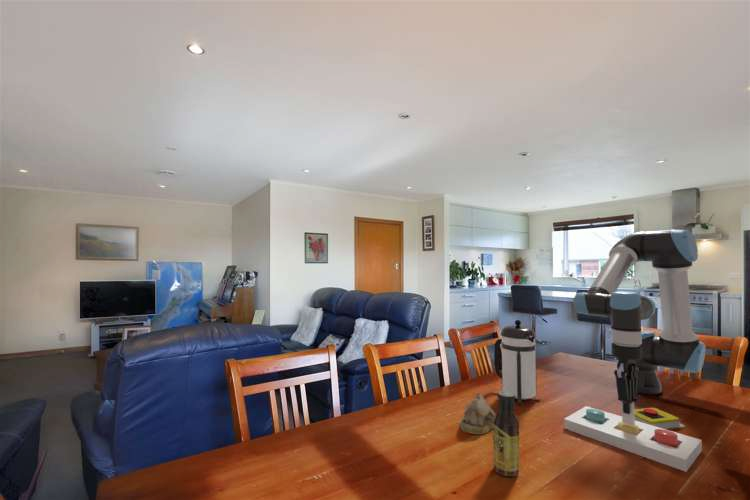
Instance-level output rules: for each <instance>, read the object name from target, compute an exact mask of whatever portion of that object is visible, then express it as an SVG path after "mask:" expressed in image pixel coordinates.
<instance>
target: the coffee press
mask: <svg viewBox="0 0 750 500" xmlns="http://www.w3.org/2000/svg"><path fill="white" fill-rule="evenodd" d="M514 324H515V325H506V326H504V327H503V328H502V330H501V331H500V336H501V338H499V339H497V340H496V341H495V343H494V348H493V351H494V352H493V353H494V355H493V357H494V370H495V373H496V375H497V376H498V377H499V378H500V379H501V384H502V388H501V389H500V390H499V392H500V391H510V392H513V393H514V394H515V399H517V405H519V406H522V405H523V403H522V401H523V400H529V399H532V398H534V399H535V400H536V401H538V402H539V401H540V400H541V396H540V395H539V393H538V391H537V390H538V389H537V387H538V386H537V384H538V383H537V362H536V358H537V346H536V338H537V333H536V332H535V331H534V329H532V328H531V327H529V326H526V325H525V326H524V325H521V324H522V321H521V320H519V319H516V320H514ZM500 345H501V346H500ZM500 347H501V350H500ZM500 351H501V355H500ZM500 356H501V369H500ZM536 395H537V397H538V398H536V397H535V396H536Z"/></svg>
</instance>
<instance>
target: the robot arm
mask: <svg viewBox="0 0 750 500" xmlns="http://www.w3.org/2000/svg"><path fill="white" fill-rule="evenodd" d="M698 256H699V253H698V246H697V242H696V238H695V236H694V235H693V233H692V232H691V231H689V230H687V229H666V230H665V229H663V230H650V231H645V230H644V231H638V232H637V231H636V232H633V233H632V234H631V233H630V234H629V235H626V236H625V237H623V238H621V239H620V240H619V241H617V242H616V243H615V244H614V245H613V246H612V247H611V249H610V250H609V252H608V259H607V261H606V263H605V264H604V265H603V267H602V269H601V270H600V272H599V273H598V274H597V276H596V278H595V279H594V281H593V282H592V284H591V285H590V287H589V289H588V290H587V291H586V292H585V291H583V292H577V293H576V294H575V295H574V297H573V298H574V299H573V307H574V310H575V312H576V313H577V314H583V315H587V316H597V317H605V318H606V317H608V318H610V330H609V334H610V335H611V338H610V339H611V342H612V343H611V348H610V349H611V355H612V356H613V357H614V358H617V359H618V360H617V361H618V362H617V364H616V368H617V369H614V371H613V374H614V377H615V382H616V390H617V400H618V401H620V402H621V416H622V423H626V424H629V425H632V426H633V425H634V424H635V417H634V409H635V403H638V400H639V399H637V398H638V394H641V395H642V394H643V395H658V394H659V395H660V394H661V393H662V389H663V388H662V384H661V381H660V379H659V378H660V377H659V376H658V374H657V371H656V369H657V367H660V368H666V369H671V370H676V371H679V372H680V371H681V372H686V373H688V372H689V373H695V374H696V373H699V372H700V371H701V370H702V368H703V366H704V362H705V356H706V352H707V351H706V349H707V348H706V343H705V342H702V341H699V339H700V338H699V336H698V334H697V333H695V332H694V331H693V323H692V311H691V300H690V297H691V296H690V286H689V276H688V275H689V274H688V270H689V269H690V268H691V267H693V262H696V261H697V260H698ZM638 262H651V265H652V268H653V269H655V270H656V271H657V275H658V276H657V277H658V286H659V287H658V288H659V296H660V297H659V298H660V307H661V308H660V309H661V319H662V329H663V330H662V331H660V332H659V333H658V335H656V333H655V332H654V331H651V330H642V321H644V320H647V319H650V318H651V317H652V316H653V315H654V314H655V312H656V308H657V307H656V304H655V302H654V300H653V299H652V298H650V297H648V296H646V295H642V294H639V293H638V292H636V291H617V290H618V288H619V287H620V286H621V284H622V282H623V281H624V279H625V277H626V275H627V274H628V272H629V270H630V268H631V267H634V266H635V265H636V264H637V263H638Z"/></svg>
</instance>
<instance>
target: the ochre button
mask: <svg viewBox="0 0 750 500" xmlns="http://www.w3.org/2000/svg"><path fill="white" fill-rule="evenodd" d="M618 430H621V431H624V432H627V433H630V434H633V435H636V436H637V435H638V434H639V427H638V426H637V425H635V424H634V425H633V426H632V425H629V424H626V423H622V422H619V423H618Z"/></svg>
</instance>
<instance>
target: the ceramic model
mask: <svg viewBox="0 0 750 500" xmlns="http://www.w3.org/2000/svg"><path fill="white" fill-rule="evenodd" d="M496 414H497V412H495V411H494V410H493V409H492V407H491V405H490V404H489V403H488V401H487V400H486V399H485V398H484V397H483V396H482V394H481V393H476V394H475V397H474V399H472V401H470V402H468V403H467V404H466V407H465V409H464V411H463V417H462V418H461V421H460V423H459V427H460V430H461V429H462V430H463V432H464V431H465V432H464V433H467V432H468V433H469V434H472V435H473V434H474V435H482V434H487V433H489V431H490V430H493V422H494V420H495V417H496ZM462 430H461V431H462Z"/></svg>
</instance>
